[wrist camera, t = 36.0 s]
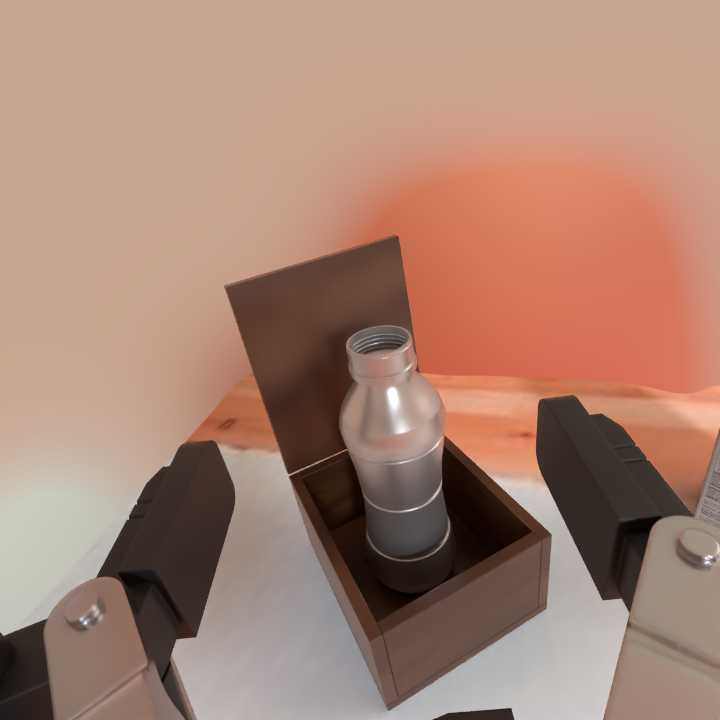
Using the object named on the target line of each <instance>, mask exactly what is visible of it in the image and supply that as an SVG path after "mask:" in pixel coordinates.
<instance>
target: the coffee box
mask: <svg viewBox="0 0 720 720" xmlns="http://www.w3.org/2000/svg"><path fill="white" fill-rule="evenodd" d="M694 517H696V518H699V519H703V520H705V521H708V522H711V523H713V524H715V525H717V526H719V527H720V429H719V433H718V436H717V439H716V443H715V446H714V449H713V453H712V456H711V459H710V463H709V466H708V470H707V473H706V476H705V480H704V483H703V486H702V490H701V493H700V496H699V499H698V502H697V506H696V509H695V513H694Z"/></svg>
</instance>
